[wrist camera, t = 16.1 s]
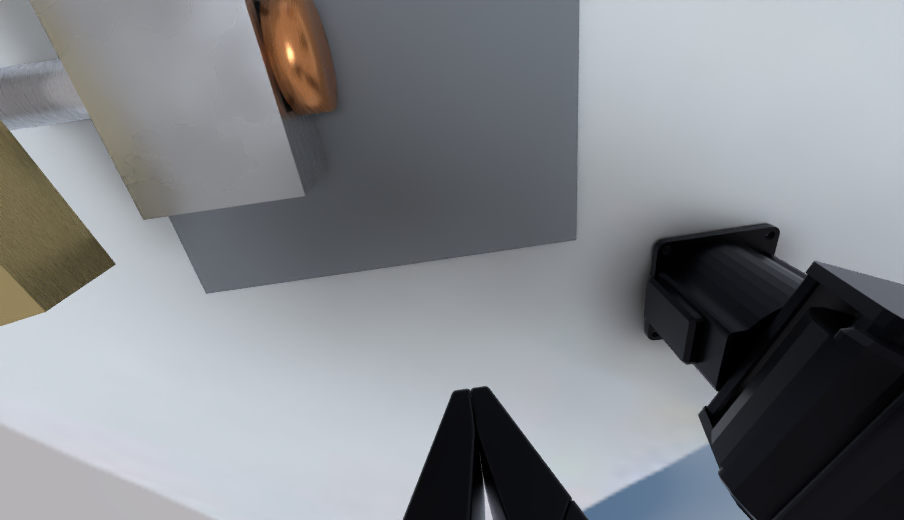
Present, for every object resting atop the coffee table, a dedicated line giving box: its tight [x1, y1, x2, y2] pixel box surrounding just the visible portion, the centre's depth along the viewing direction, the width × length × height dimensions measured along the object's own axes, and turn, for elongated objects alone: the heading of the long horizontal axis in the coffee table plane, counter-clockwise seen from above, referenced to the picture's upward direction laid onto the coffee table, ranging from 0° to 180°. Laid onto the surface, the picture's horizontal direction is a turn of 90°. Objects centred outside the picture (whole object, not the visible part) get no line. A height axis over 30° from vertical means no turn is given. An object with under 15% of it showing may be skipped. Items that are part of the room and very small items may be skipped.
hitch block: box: [29, 0, 329, 220], centre depth 15 cm, size 6×9×4 cm, turn 7°
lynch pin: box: [0, 0, 337, 130], centre depth 14 cm, size 12×4×4 cm, turn 97°
